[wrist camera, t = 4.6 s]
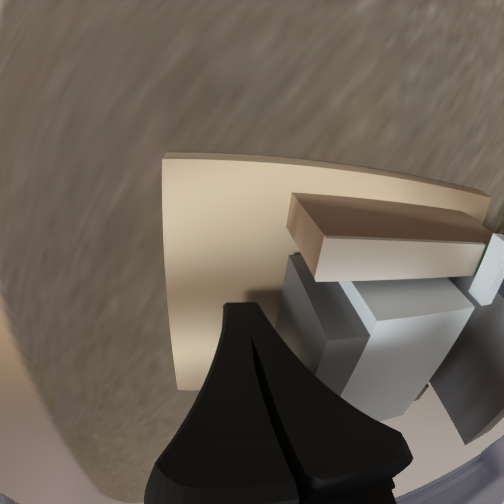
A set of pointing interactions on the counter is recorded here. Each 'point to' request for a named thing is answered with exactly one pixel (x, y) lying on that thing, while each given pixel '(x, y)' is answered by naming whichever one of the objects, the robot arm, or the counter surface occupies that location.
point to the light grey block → (379, 329)
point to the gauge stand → (324, 255)
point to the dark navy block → (501, 289)
